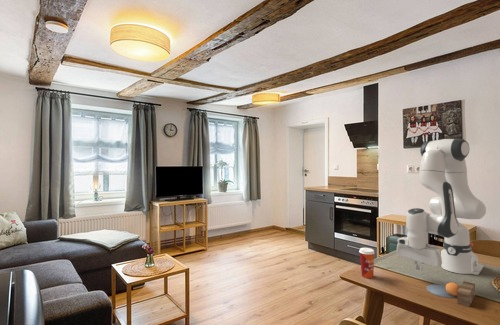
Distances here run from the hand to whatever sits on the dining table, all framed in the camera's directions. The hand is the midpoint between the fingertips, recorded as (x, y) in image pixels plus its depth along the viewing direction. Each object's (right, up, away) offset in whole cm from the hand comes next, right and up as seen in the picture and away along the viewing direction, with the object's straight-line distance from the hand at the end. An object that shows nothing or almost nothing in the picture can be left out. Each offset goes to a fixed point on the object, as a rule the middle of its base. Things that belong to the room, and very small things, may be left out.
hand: (419, 269), depth 140 cm
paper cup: (-22, -7, +9) cm, 24 cm away
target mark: (+5, -6, -10) cm, 13 cm away
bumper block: (+10, -6, -18) cm, 21 cm away
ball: (+7, -3, -14) cm, 16 cm away
